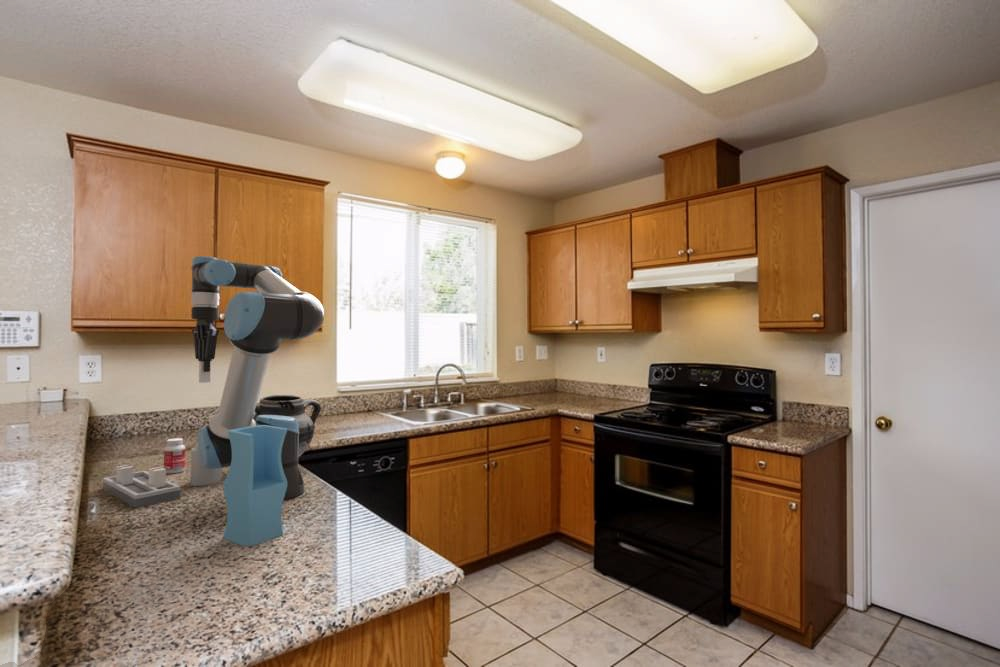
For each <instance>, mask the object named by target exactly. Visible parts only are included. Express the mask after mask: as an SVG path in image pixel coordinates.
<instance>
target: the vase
mask: <svg viewBox="0 0 1000 667" xmlns="http://www.w3.org/2000/svg"><path fill="white" fill-rule="evenodd" d="M286 433H287V429H286V428H280V427H274V426H268V425H258V426H251V427H245V428H238V429H232V430H229V431H228V434H229V438H230V442H231V449H232V460H231V466H230V467H229V469H228V473H227V476H226V478H225V481H224V483H223V486H222V487H223V490H222V491H223V493H224V497H225V501H226V507H227V516H226V519H227V520H226V526H225V529H224V533H223V537H222V539H224V540H227V541H229V542H233V543H234V544H236V545H237V544H238V545H239V546H243V547H252V546H256V545H259V544H261V543H264V542H266V541H270V540H272V539H274V538H278V537H281V536H282V535H283V534H284V529H283V524H282V510H283V504H284V500H285V499H284V496H285V492H286V489H287V479H286V477H285V474H284V471H283V467H282V463H281V452H282V446H283V442H284V438H285V436H286Z"/></svg>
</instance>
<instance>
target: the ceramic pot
mask: <svg viewBox="0 0 1000 667" xmlns="http://www.w3.org/2000/svg"><path fill="white" fill-rule="evenodd" d="M308 406H313V411H312V413H311V415H310V416H309V415H308V414H307V412H306V408H308ZM321 409H322V406H321V404H320V402H319V401H318V400H315V399H312V398H311V399H310V398H309V399H305V400H304V399H303V397H302V396H298V395H292V394H291V395H290V394H274V395H266V396H262V397H261V398H260V399H259V402H258V403H257V404H256V408H255V411H254V413H255V414H254V415H253V419H254V420H255V421H256V418H257V416H259V415H280V416H289V417H293V418H295V419H297V421H298V425H299V453H298V458H300V457H301V456H302V455H303V454H304V453H305V452H306V451H307V449H308V447H309V445H310V444H311V441H312V440H313V438H314V434H315V429H316V427H315V425H316V420H317V419H318V417H319V414H320V413H321Z"/></svg>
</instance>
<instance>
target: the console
mask: <svg viewBox="0 0 1000 667" xmlns="http://www.w3.org/2000/svg"><path fill="white" fill-rule="evenodd" d="M102 490H104V491H105V492H107V493H109V494H110V495H112V496H114V497H115V498H117V499H118V500H120V501H122V502H124V503H126V504H128V505H129V506H131V507H133V508H134V509H138V508H143V507H146V506H151V505H152V506H153V505H157V504H160V503H165V502H169V501H173V500H177V499H181V486H180V485H178V484H176V483H174V482H172V481H169V480H167V479H166V486H164V487H159V488H155V487H153V486H151V485H149V471H146V470H141V471H140V470H139V471H136V472H134V471H133V484H129V485H123V486H122V485H121V484H119V483H117V482H116V475H113V476H112V475H111V476H107V477H103V478H102Z"/></svg>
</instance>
